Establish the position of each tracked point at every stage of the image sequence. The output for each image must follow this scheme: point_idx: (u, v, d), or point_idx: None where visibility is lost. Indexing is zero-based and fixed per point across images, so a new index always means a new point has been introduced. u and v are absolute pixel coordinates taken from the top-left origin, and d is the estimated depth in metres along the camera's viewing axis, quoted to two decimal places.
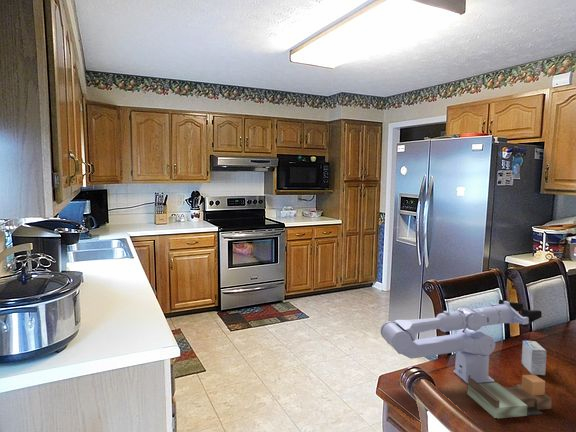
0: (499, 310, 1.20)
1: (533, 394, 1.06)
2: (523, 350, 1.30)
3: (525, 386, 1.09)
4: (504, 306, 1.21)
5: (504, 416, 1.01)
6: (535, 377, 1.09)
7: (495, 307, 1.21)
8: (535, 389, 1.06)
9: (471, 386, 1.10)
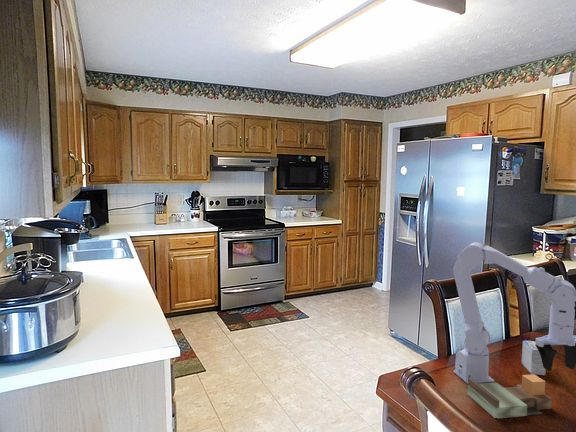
0: (562, 328, 1.06)
1: (533, 394, 1.06)
2: (523, 350, 1.30)
3: (525, 386, 1.09)
4: (567, 338, 1.06)
5: (504, 416, 1.01)
6: (535, 377, 1.09)
7: (568, 327, 1.05)
8: (535, 389, 1.06)
9: (471, 386, 1.10)
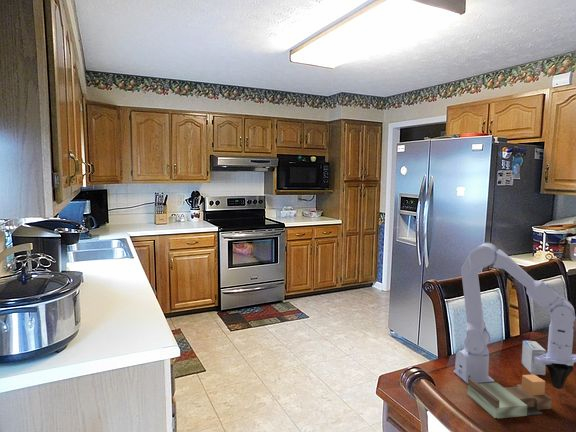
0: (561, 348, 1.06)
1: (533, 394, 1.06)
2: (523, 350, 1.30)
3: (525, 386, 1.09)
4: (565, 357, 1.06)
5: (504, 416, 1.01)
6: (535, 377, 1.09)
7: (567, 347, 1.06)
8: (535, 389, 1.06)
9: (471, 386, 1.10)
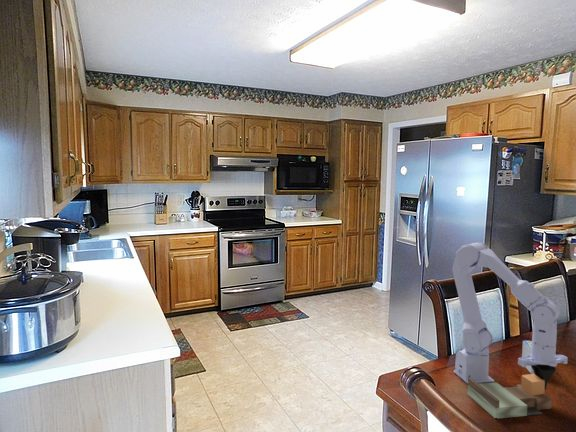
0: (544, 348, 1.05)
1: (533, 394, 1.06)
2: (523, 350, 1.30)
3: (525, 386, 1.09)
4: (549, 358, 1.05)
5: (504, 416, 1.01)
6: (534, 377, 1.08)
7: (550, 347, 1.05)
8: (535, 389, 1.06)
9: (471, 386, 1.10)
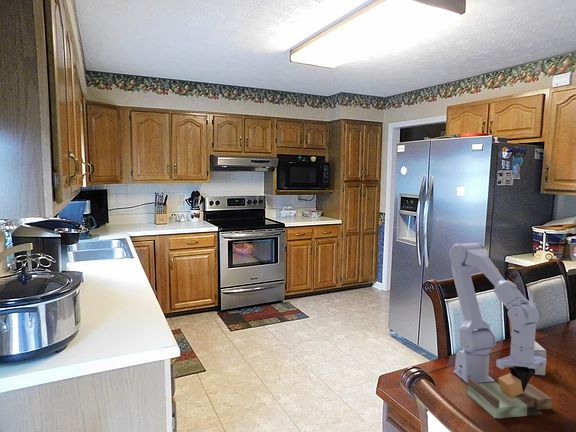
0: (522, 350, 1.04)
1: (512, 396, 1.05)
2: None
3: (503, 388, 1.07)
4: (527, 360, 1.04)
5: (504, 416, 1.01)
6: (511, 377, 1.07)
7: (528, 349, 1.04)
8: (512, 390, 1.05)
9: (471, 386, 1.10)
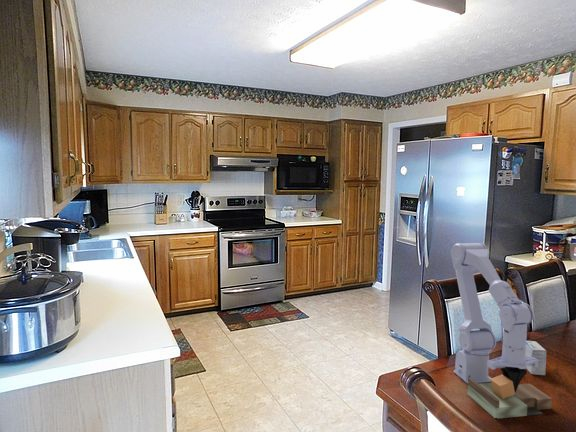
0: (513, 350, 1.04)
1: (503, 397, 1.04)
2: None
3: (495, 389, 1.07)
4: (518, 361, 1.04)
5: (504, 416, 1.01)
6: (503, 378, 1.06)
7: (519, 350, 1.03)
8: (504, 391, 1.04)
9: (471, 386, 1.10)
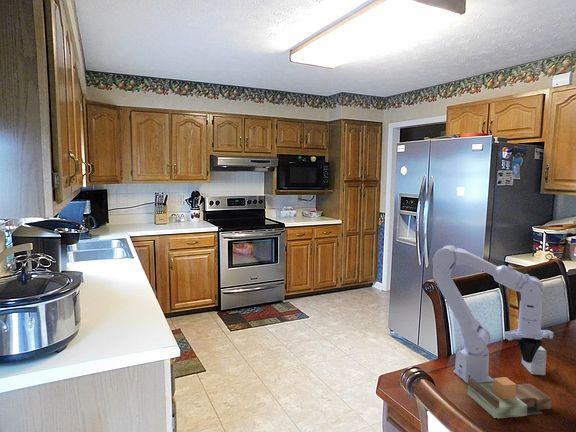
0: (529, 322, 1.10)
1: (504, 397, 1.04)
2: None
3: (496, 389, 1.07)
4: (534, 332, 1.10)
5: (504, 416, 1.01)
6: (506, 380, 1.07)
7: (535, 321, 1.10)
8: (506, 392, 1.04)
9: (471, 386, 1.10)
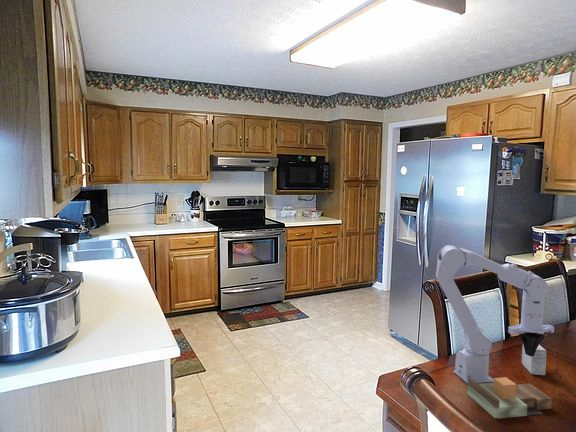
0: (532, 317, 1.14)
1: (504, 397, 1.04)
2: (523, 350, 1.30)
3: (496, 389, 1.07)
4: (536, 326, 1.14)
5: (504, 416, 1.01)
6: (506, 380, 1.07)
7: (537, 316, 1.14)
8: (506, 392, 1.04)
9: (471, 386, 1.10)
